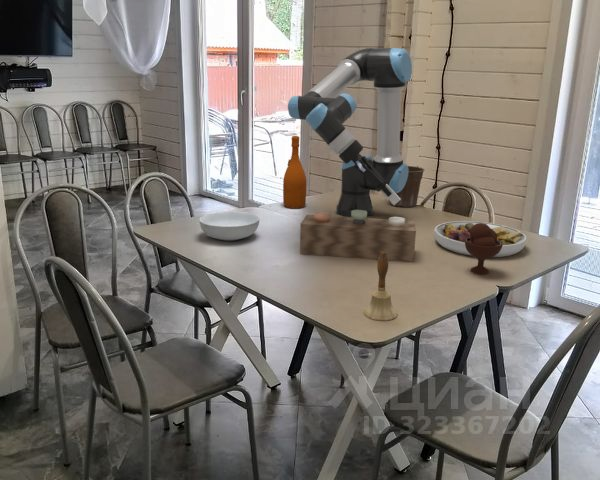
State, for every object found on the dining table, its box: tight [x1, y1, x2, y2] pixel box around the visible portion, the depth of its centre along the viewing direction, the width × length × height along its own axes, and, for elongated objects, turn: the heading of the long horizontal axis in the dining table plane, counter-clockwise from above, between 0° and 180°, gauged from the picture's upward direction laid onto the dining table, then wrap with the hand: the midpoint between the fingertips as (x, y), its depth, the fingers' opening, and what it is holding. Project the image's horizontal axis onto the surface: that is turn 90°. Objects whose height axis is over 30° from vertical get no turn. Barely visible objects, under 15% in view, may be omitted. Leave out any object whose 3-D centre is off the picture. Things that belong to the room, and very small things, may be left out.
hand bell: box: [363, 252, 398, 322], centre depth 139 cm, size 8×8×16 cm
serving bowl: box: [198, 210, 260, 242], centre depth 200 cm, size 21×21×7 cm
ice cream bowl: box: [465, 223, 503, 276], centre depth 169 cm, size 11×11×15 cm
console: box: [299, 214, 417, 263], centre depth 185 cm, size 36×12×10 cm, turn 80°
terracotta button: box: [313, 211, 331, 222], centre depth 186 cm, size 5×5×6 cm
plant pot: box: [388, 165, 425, 208], centre depth 250 cm, size 16×16×16 cm
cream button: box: [388, 216, 406, 227], centre depth 182 cm, size 5×5×6 cm
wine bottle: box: [282, 135, 307, 209], centre depth 241 cm, size 10×10×30 cm
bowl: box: [434, 220, 527, 258], centre depth 195 cm, size 30×30×8 cm
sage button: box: [351, 210, 368, 224], centre depth 184 cm, size 5×5×6 cm
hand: (397, 201), depth 180 cm, fingers closed
